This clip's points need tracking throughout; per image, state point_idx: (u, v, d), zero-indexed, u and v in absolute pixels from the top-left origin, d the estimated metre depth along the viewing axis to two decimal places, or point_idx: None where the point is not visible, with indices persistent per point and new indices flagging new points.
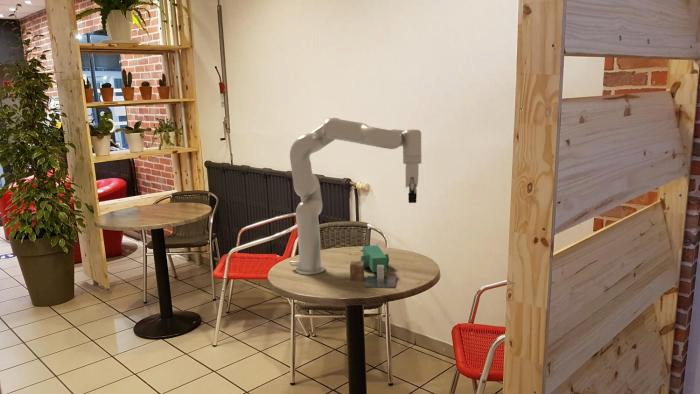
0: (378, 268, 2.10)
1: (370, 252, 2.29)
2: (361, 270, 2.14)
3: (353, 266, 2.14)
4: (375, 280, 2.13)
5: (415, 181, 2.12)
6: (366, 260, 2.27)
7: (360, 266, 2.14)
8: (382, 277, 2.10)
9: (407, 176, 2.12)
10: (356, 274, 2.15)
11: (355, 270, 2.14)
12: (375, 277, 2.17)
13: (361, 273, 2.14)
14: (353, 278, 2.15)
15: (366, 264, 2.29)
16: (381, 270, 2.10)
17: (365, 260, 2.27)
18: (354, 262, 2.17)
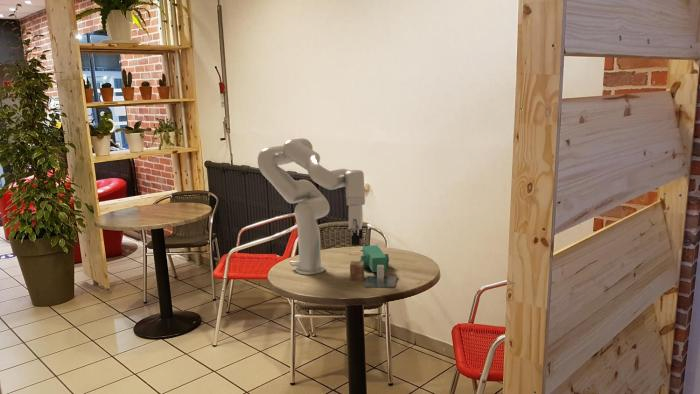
0: (378, 268, 2.10)
1: (370, 252, 2.29)
2: (361, 270, 2.14)
3: (353, 266, 2.14)
4: (375, 280, 2.13)
5: (358, 223, 2.08)
6: (366, 260, 2.27)
7: (360, 266, 2.14)
8: (382, 277, 2.10)
9: (349, 218, 2.08)
10: (356, 274, 2.15)
11: (355, 270, 2.14)
12: (375, 277, 2.17)
13: (361, 273, 2.14)
14: (353, 278, 2.15)
15: (366, 264, 2.29)
16: (381, 270, 2.10)
17: (365, 260, 2.27)
18: (354, 262, 2.17)
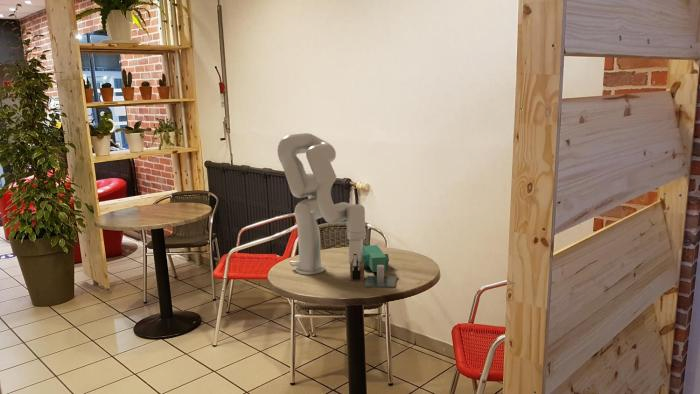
0: (378, 268, 2.10)
1: (370, 252, 2.29)
2: (361, 270, 2.14)
3: None
4: (375, 280, 2.13)
5: (358, 260, 2.11)
6: (366, 260, 2.28)
7: (360, 266, 2.14)
8: (382, 277, 2.10)
9: (350, 252, 2.11)
10: None
11: None
12: (375, 277, 2.17)
13: (361, 273, 2.14)
14: None
15: (366, 264, 2.29)
16: (381, 270, 2.10)
17: (365, 260, 2.27)
18: None
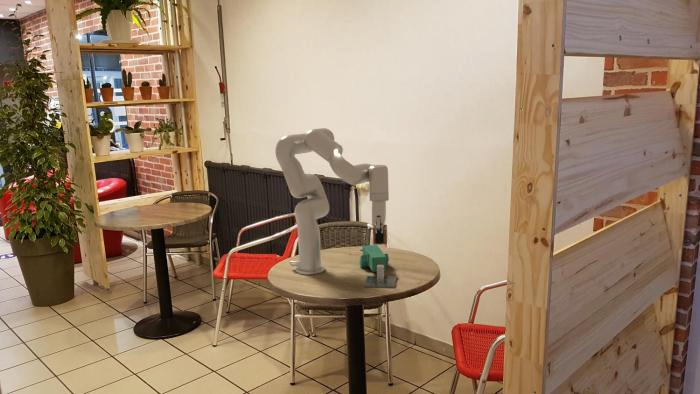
0: (378, 268, 2.10)
1: (370, 251, 2.29)
2: (384, 233, 2.06)
3: None
4: (375, 280, 2.13)
5: (382, 222, 2.03)
6: (366, 259, 2.28)
7: (383, 229, 2.06)
8: (382, 277, 2.10)
9: (373, 214, 2.03)
10: None
11: None
12: (375, 277, 2.17)
13: (385, 236, 2.06)
14: None
15: (366, 263, 2.30)
16: (381, 270, 2.10)
17: (365, 260, 2.28)
18: None
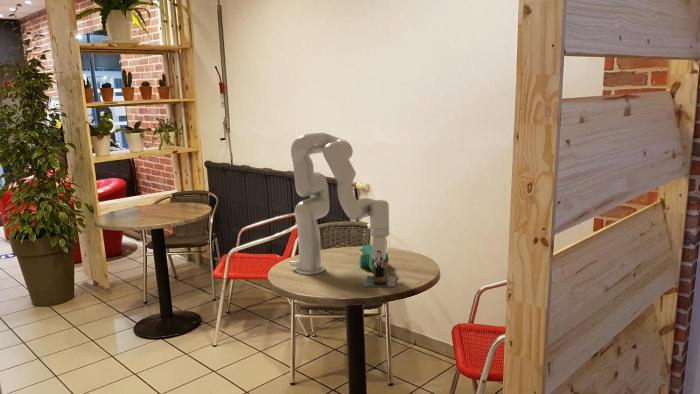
0: None
1: (369, 251, 2.30)
2: (385, 271, 2.09)
3: None
4: None
5: (382, 255, 2.05)
6: (365, 259, 2.28)
7: (384, 267, 2.08)
8: None
9: (374, 249, 2.05)
10: None
11: None
12: None
13: (385, 274, 2.09)
14: (376, 279, 2.10)
15: (365, 263, 2.30)
16: None
17: (364, 259, 2.28)
18: None
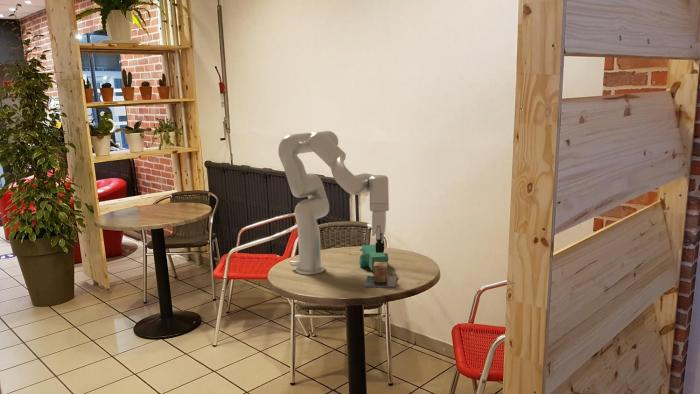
0: None
1: (369, 251, 2.30)
2: (385, 271, 2.09)
3: (377, 267, 2.09)
4: None
5: (382, 234, 2.04)
6: (365, 259, 2.29)
7: (384, 267, 2.08)
8: None
9: (373, 224, 2.03)
10: (380, 275, 2.09)
11: (378, 271, 2.09)
12: None
13: (385, 274, 2.09)
14: (376, 279, 2.10)
15: (365, 263, 2.30)
16: None
17: (364, 259, 2.28)
18: (377, 263, 2.12)
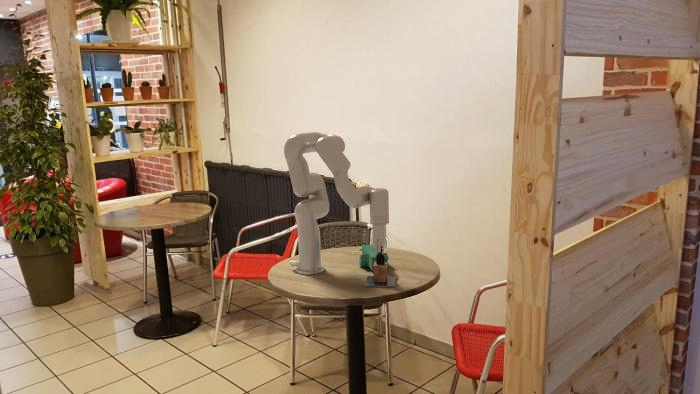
0: None
1: (369, 251, 2.30)
2: (385, 271, 2.09)
3: (377, 267, 2.09)
4: None
5: (382, 247, 2.06)
6: (365, 259, 2.29)
7: (384, 267, 2.08)
8: None
9: (374, 237, 2.04)
10: (380, 275, 2.09)
11: (378, 271, 2.09)
12: None
13: (385, 274, 2.09)
14: (376, 279, 2.10)
15: (365, 263, 2.30)
16: None
17: (364, 259, 2.29)
18: None
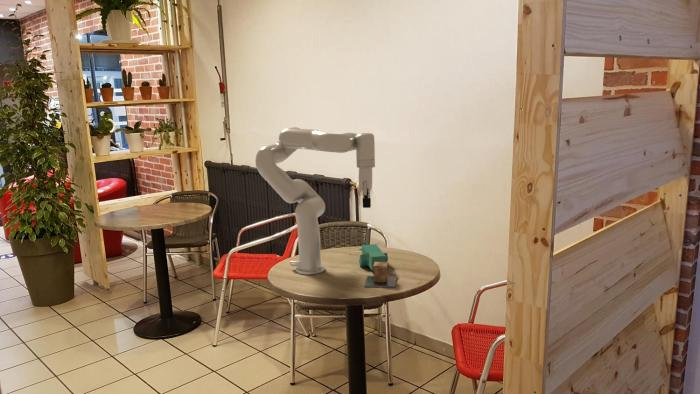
0: None
1: (369, 251, 2.31)
2: (385, 271, 2.09)
3: (377, 267, 2.09)
4: None
5: (368, 190, 2.12)
6: (365, 259, 2.29)
7: (384, 267, 2.08)
8: None
9: (360, 180, 2.11)
10: (380, 275, 2.09)
11: (378, 271, 2.09)
12: None
13: (385, 274, 2.09)
14: (376, 279, 2.10)
15: (365, 263, 2.31)
16: None
17: (364, 259, 2.29)
18: (377, 263, 2.12)
